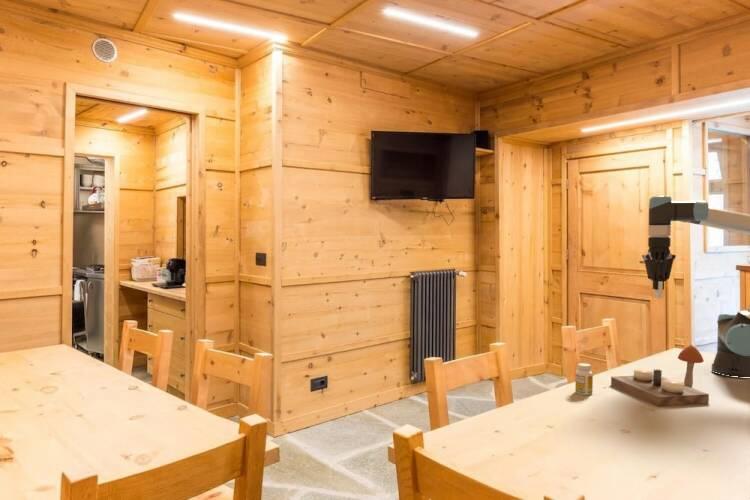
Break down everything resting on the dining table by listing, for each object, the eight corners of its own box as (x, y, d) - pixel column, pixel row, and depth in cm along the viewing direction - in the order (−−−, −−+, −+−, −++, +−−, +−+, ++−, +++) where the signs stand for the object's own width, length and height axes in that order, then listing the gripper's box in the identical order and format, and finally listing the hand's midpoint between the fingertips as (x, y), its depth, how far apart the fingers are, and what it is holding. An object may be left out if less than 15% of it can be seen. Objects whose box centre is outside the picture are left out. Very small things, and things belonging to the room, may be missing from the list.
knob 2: (673, 395, 176) (673, 379, 176) (687, 401, 170) (687, 384, 170) (657, 396, 175) (657, 380, 175) (670, 402, 169) (671, 385, 169)
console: (655, 382, 193) (656, 374, 193) (708, 403, 169) (708, 394, 169) (611, 385, 189) (611, 376, 189) (658, 406, 166) (658, 397, 166)
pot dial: (657, 383, 181) (658, 368, 180) (662, 385, 178) (663, 370, 178) (651, 384, 180) (651, 368, 180) (656, 386, 178) (656, 370, 178)
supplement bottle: (589, 390, 182) (590, 362, 182) (594, 395, 177) (595, 366, 177) (573, 390, 183) (573, 362, 182) (577, 395, 177) (578, 366, 177)
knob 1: (644, 383, 190) (645, 368, 189) (656, 388, 184) (656, 372, 184) (629, 384, 188) (630, 369, 188) (641, 389, 183) (641, 373, 182)
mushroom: (708, 390, 183) (709, 347, 183) (684, 390, 183) (685, 347, 183) (694, 384, 191) (695, 342, 191) (672, 383, 191) (673, 342, 191)
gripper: (667, 236, 208) (666, 296, 209) (637, 236, 206) (636, 297, 207) (681, 236, 201) (680, 298, 202) (651, 236, 199) (649, 299, 199)
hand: (658, 297), depth 204 cm, fingers closed
